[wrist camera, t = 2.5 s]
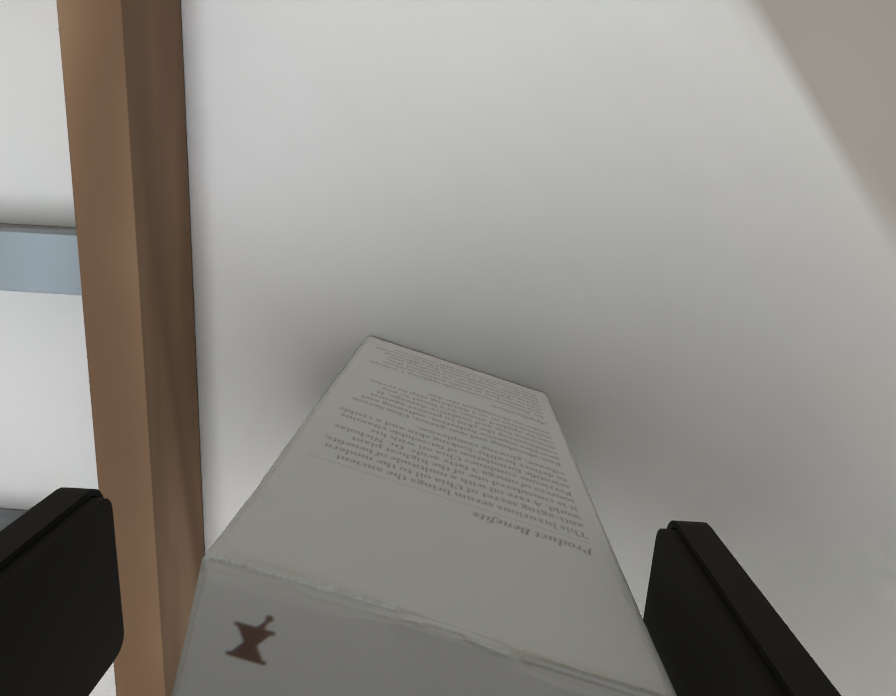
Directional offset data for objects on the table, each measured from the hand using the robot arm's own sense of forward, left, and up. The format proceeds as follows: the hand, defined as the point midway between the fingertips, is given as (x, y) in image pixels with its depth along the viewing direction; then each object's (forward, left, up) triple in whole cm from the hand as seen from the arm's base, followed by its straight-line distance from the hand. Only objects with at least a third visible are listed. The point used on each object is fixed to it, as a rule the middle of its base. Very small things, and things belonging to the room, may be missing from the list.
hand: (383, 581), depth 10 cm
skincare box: (-1, 0, -9) cm, 9 cm away
